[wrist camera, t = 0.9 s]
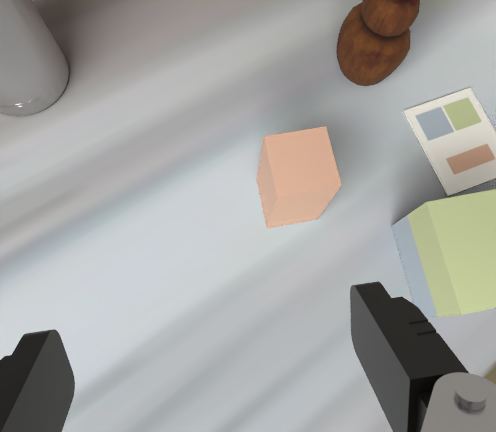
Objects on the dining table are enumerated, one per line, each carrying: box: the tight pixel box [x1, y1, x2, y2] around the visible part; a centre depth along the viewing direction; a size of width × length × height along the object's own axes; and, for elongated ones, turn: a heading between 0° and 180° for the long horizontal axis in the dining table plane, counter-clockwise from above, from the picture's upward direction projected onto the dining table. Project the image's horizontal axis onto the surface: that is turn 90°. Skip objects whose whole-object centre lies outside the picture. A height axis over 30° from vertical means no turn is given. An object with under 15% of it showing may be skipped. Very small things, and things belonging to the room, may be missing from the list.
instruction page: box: [403, 87, 496, 196], centre depth 46 cm, size 10×8×1 cm
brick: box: [257, 126, 342, 228], centre depth 39 cm, size 5×5×10 cm
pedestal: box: [392, 189, 496, 318], centre depth 38 cm, size 9×9×8 cm
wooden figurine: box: [337, 0, 420, 86], centre depth 40 cm, size 7×6×15 cm
